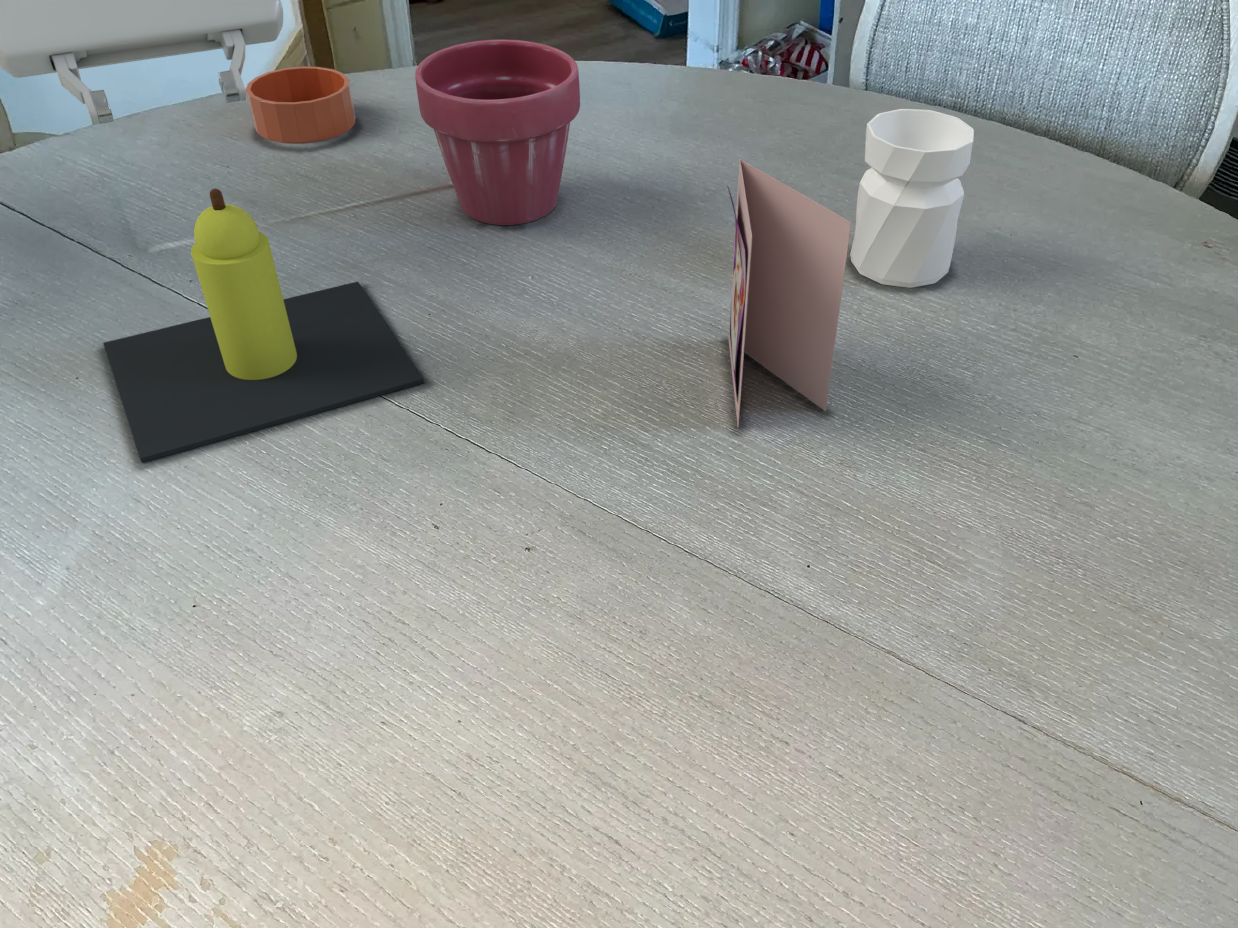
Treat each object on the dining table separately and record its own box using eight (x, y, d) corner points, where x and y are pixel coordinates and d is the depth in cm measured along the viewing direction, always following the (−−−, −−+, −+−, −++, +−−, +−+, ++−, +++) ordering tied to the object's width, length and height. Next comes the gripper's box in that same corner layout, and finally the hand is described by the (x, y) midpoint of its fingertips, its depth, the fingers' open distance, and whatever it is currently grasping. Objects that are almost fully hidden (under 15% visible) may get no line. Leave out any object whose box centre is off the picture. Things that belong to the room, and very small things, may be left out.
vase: (969, 273, 96) (999, 140, 88) (888, 297, 93) (911, 160, 85) (908, 230, 102) (930, 101, 94) (829, 251, 98) (845, 119, 91)
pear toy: (234, 387, 81) (181, 213, 72) (218, 352, 84) (166, 181, 75) (305, 368, 83) (263, 196, 73) (287, 335, 86) (244, 166, 77)
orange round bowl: (270, 155, 111) (260, 111, 108) (245, 118, 118) (235, 76, 115) (369, 136, 115) (361, 93, 112) (339, 101, 122) (332, 60, 119)
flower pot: (537, 253, 97) (527, 110, 89) (403, 220, 101) (380, 80, 93) (609, 187, 107) (606, 53, 99) (484, 160, 111) (470, 29, 103)
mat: (141, 463, 75) (139, 458, 74) (104, 346, 85) (102, 342, 85) (424, 383, 82) (423, 378, 82) (358, 285, 93) (357, 281, 92)
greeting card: (717, 339, 87) (727, 158, 77) (811, 340, 88) (832, 159, 78) (725, 428, 79) (737, 237, 69) (829, 428, 79) (856, 238, 69)
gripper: (-62, -81, 74) (7, 114, 75) (247, -109, 82) (309, 67, 82) (-40, -28, 80) (24, 152, 80) (246, -59, 88) (304, 105, 88)
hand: (171, 109), depth 81 cm, fingers open, 8 cm apart
